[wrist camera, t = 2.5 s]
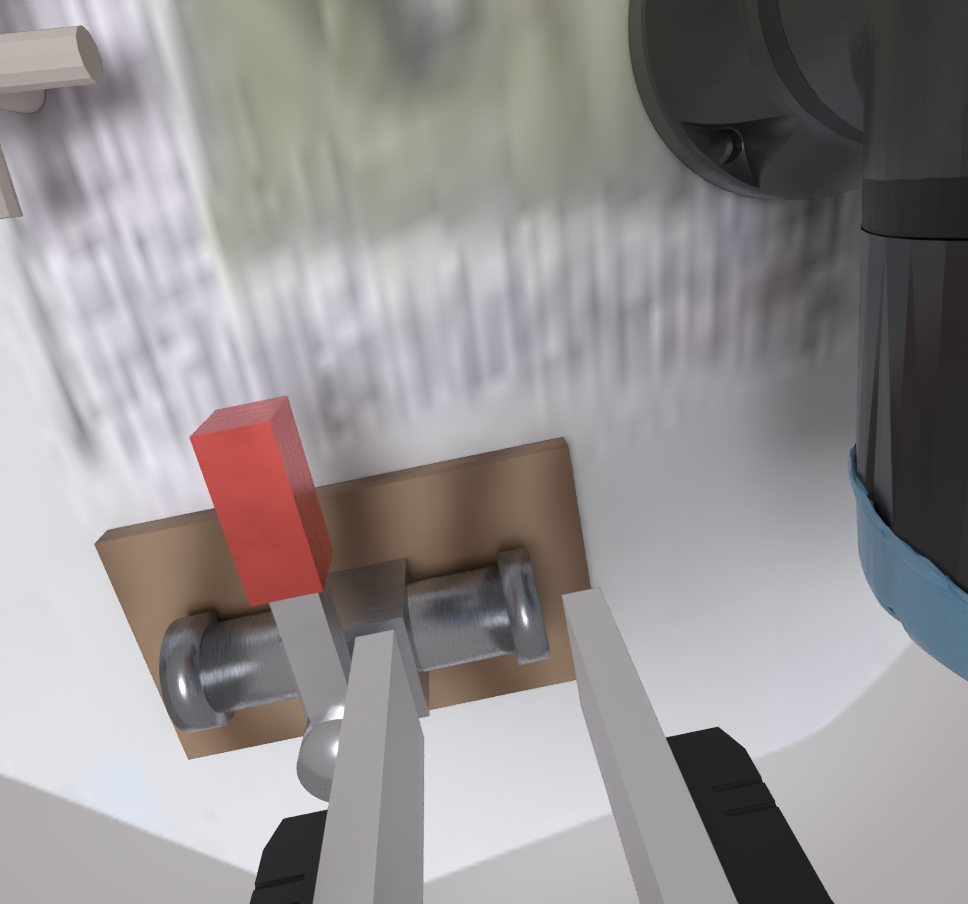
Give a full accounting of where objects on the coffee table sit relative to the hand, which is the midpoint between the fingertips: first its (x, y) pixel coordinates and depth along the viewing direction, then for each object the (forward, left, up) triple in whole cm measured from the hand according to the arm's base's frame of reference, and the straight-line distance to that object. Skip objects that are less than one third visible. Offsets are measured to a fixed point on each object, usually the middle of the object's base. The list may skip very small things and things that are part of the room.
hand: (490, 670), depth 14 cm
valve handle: (+7, +5, -13) cm, 16 cm away
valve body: (+7, +11, -23) cm, 26 cm away
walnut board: (+7, +11, -23) cm, 26 cm away
